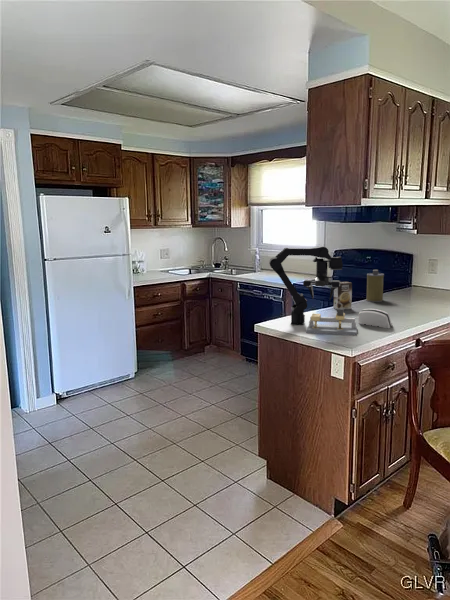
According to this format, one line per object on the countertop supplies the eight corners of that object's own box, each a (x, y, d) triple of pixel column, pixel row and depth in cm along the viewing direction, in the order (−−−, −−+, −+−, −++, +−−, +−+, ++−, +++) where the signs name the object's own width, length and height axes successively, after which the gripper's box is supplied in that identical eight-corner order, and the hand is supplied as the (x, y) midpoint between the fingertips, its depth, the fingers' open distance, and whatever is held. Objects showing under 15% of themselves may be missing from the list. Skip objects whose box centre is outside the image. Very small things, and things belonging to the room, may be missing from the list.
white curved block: (393, 326, 232) (391, 309, 227) (389, 331, 229) (387, 314, 224) (362, 321, 243) (360, 305, 238) (358, 326, 240) (356, 310, 236)
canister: (383, 302, 288) (384, 271, 284) (366, 301, 290) (367, 271, 286) (382, 298, 298) (383, 268, 294) (365, 298, 301) (366, 268, 297)
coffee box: (337, 310, 271) (338, 283, 268) (333, 308, 277) (333, 282, 274) (351, 309, 273) (352, 282, 269) (347, 306, 279) (347, 281, 276)
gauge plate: (306, 332, 225) (306, 318, 224) (309, 326, 236) (309, 312, 235) (356, 335, 218) (356, 320, 216) (356, 328, 229) (357, 314, 228)
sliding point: (335, 328, 224) (335, 310, 222) (336, 324, 230) (336, 307, 228) (343, 328, 223) (344, 310, 221) (344, 325, 229) (344, 307, 227)
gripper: (301, 272, 233) (301, 301, 237) (338, 272, 227) (337, 303, 230) (305, 269, 244) (304, 297, 247) (340, 269, 238) (339, 298, 241)
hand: (321, 299), depth 241 cm, fingers open, 9 cm apart
